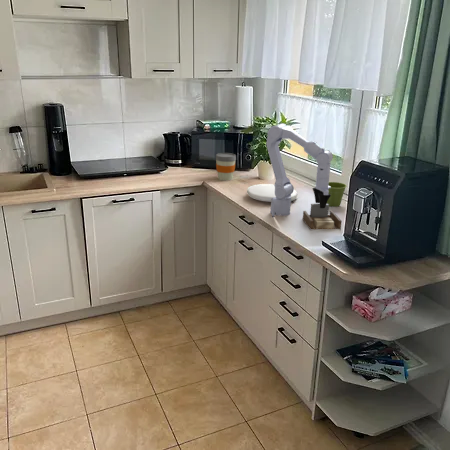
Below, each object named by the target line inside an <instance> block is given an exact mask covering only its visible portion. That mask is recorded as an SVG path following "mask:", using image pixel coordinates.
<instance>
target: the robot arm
mask: <svg viewBox="0 0 450 450" xmlns="http://www.w3.org/2000/svg"><path fill="white" fill-rule="evenodd" d="M283 139H286V140H287V139H288V140H290V141H292V142H294V143H295V144H297V145H299V146H300V147H302V148H303V151H304V153H306V154H308V155H309V156H311V158H313V159H315V160H316V163H317V169H316V179H315V184H314V187H312V191H313V194H314V200H315V204H320V208H325V206H326V204H327V201H328V199H329V198H330V196H331V194H328V193H329V191H328V189H329V188H331V187H330V186H328V184H329V182H330V175H331V173H330V172H331V162H332V161H333V159H334V156H333V153H332V152H331V150H330V149H329V150H328V149H325V148H324V147H321V146H320V145H318V144H317V142H316V141H313V140H309V141H308V139H305V137H303V136H301V135H300V134H299V133H298V132H297V131H295V130H294V129H293V128H292V127H291V126H289V125H287V124H285V123H279V124H276V125H272V126H271V127H270V128H269V129H268V131H267V138H266V147H267V148H266V149H267V152H268V157H269V159H270V164H271V167H272V171H273V175H274V179H275V181H274V184H275V185H274V186H275V196H276V197H275V198H272V199H271V202H270V211H269V212H270V215H271V216H272V218H276V217H275V216H289V215H290V214H291V206H292V205H291V203H292V201H291V194H292V193H293V191H294V190H295V187H294V185H293V184H292V183H291V181H290V180H291V179H290V178H289V177H287V174H286V169H285V165H284V162H283V159H282V158H283V157H282V155H281V151H280V147H279V145H280V143H281V141H282V140H283Z"/></svg>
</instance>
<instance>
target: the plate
mask: <svg viewBox="0 0 450 450" xmlns="http://www.w3.org/2000/svg"><path fill="white" fill-rule="evenodd" d="M274 185H275V183H274V184H273V183H261V184H259V183H258V184H254V185H251V186H248V187H247V190H246V193H247V195H248V197H250V198H251V199H254V200H257V201H261V202H268V203H271V199H272V198H275V197H276V196H275V186H274ZM297 198H298V192H297V190H296V189H294V191H293V193H292V194H291V202H293V201H295V200H297Z"/></svg>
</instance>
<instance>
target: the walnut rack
mask: <svg viewBox="0 0 450 450" xmlns="http://www.w3.org/2000/svg"><path fill="white" fill-rule="evenodd" d="M315 218H331V219H332V221H334V228H318V229H316V227H315V226H314V225H313V223H314V219H315ZM302 220H303V221H304V223H305V224H306V225H307V226H308V228H309V229H310V230H341V229H342V219H341V218H340V217H339V216H338V215H337V214H336V213H335V212H334V211H333V210H330V211H329V214H328V217H310V214H309V213H308V212H307V211H306V210H303V213H302Z"/></svg>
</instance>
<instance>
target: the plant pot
mask: <svg viewBox="0 0 450 450" xmlns="http://www.w3.org/2000/svg"><path fill="white" fill-rule="evenodd" d="M347 185H348V184H346V183H343V182H338V181H329V184H328V186H330V187H331V188H329V189H328V191H329V193H328V194H331V196H330V198H329V199H328V201H327V204H329V208H332V207H333V208H334V207H336V208H338V207H341V205H342V200H343V197H344V193H345V190H346V188H347V187H348V186H347Z"/></svg>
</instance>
